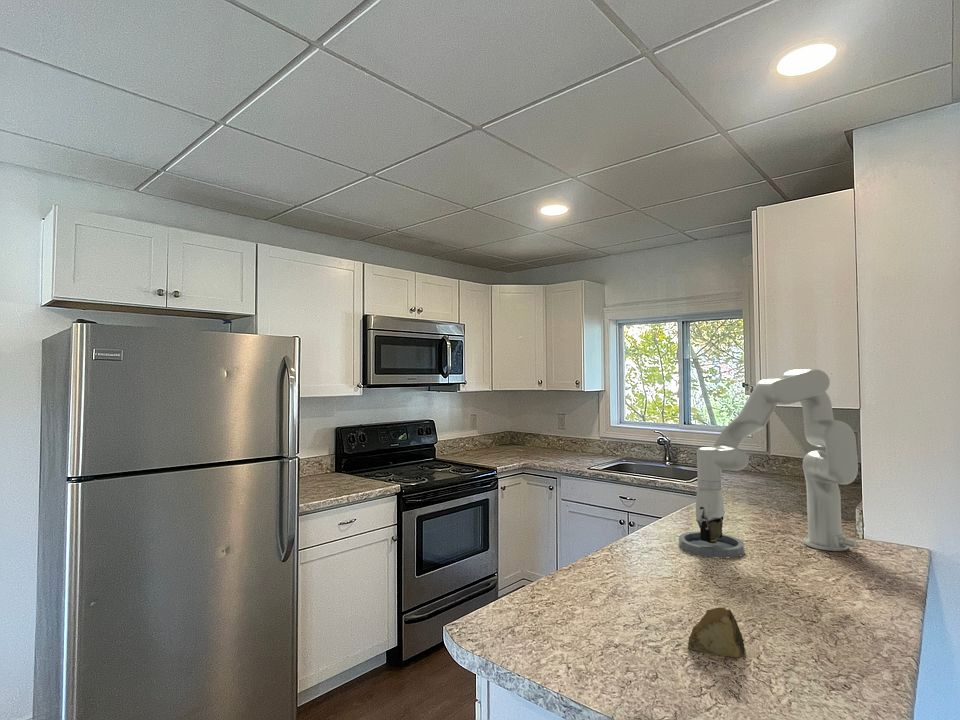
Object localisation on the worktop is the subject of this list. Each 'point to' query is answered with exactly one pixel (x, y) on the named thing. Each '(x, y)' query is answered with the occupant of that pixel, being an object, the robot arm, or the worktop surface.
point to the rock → (717, 634)
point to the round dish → (711, 545)
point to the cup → (715, 529)
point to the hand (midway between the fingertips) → (711, 538)
